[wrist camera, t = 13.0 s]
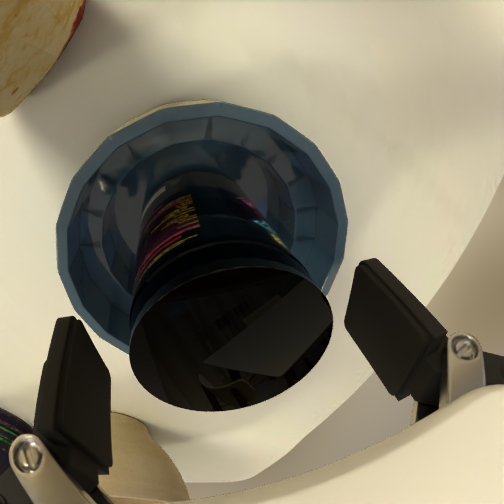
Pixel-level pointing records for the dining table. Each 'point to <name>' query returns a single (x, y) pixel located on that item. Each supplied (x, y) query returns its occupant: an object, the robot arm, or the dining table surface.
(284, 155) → the basin
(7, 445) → the storage jar
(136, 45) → the dining table surface
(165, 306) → the supplement container
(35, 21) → the food model
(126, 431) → the planter bowl
